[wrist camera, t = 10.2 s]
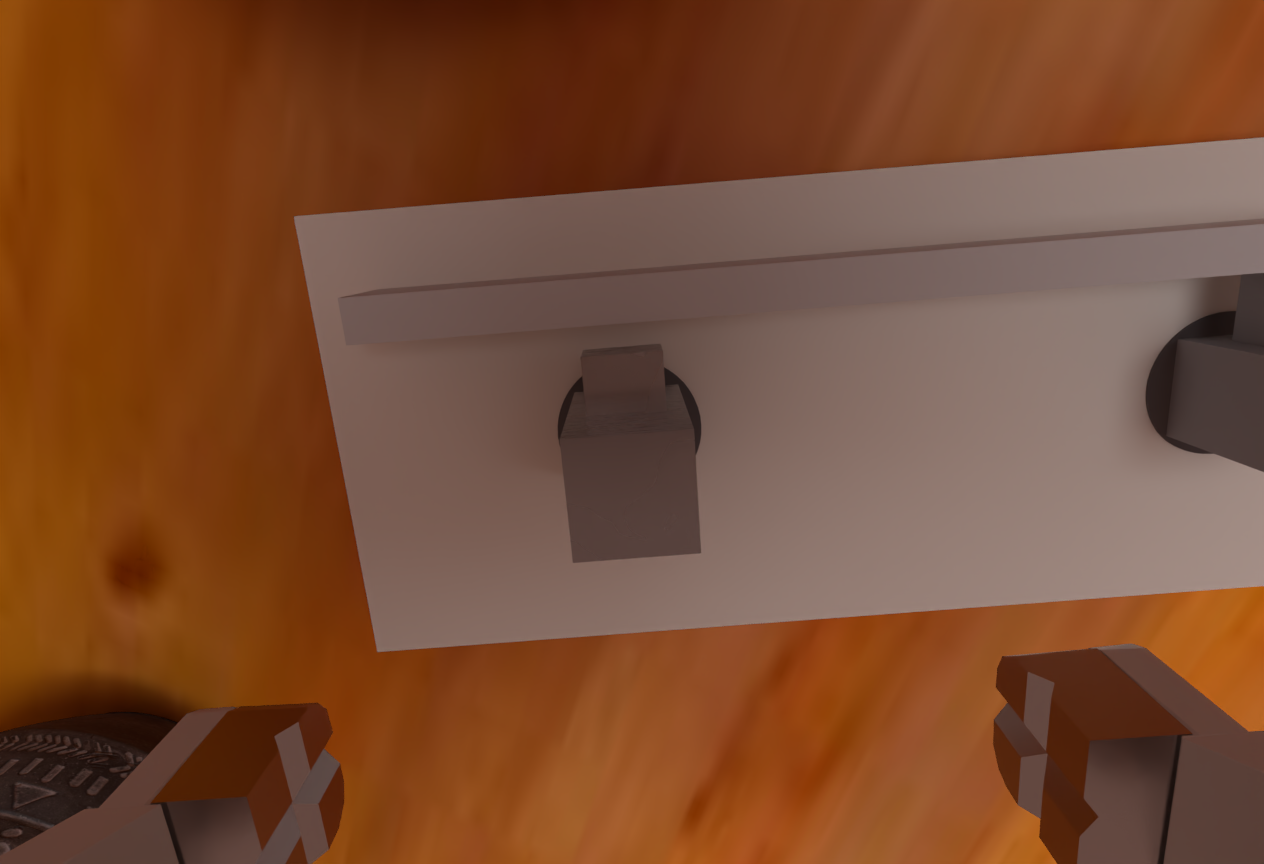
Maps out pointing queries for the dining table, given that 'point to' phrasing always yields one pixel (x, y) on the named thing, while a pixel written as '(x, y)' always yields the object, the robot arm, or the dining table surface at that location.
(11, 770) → the planter
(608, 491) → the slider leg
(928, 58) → the dining table surface
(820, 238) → the grey peg board
